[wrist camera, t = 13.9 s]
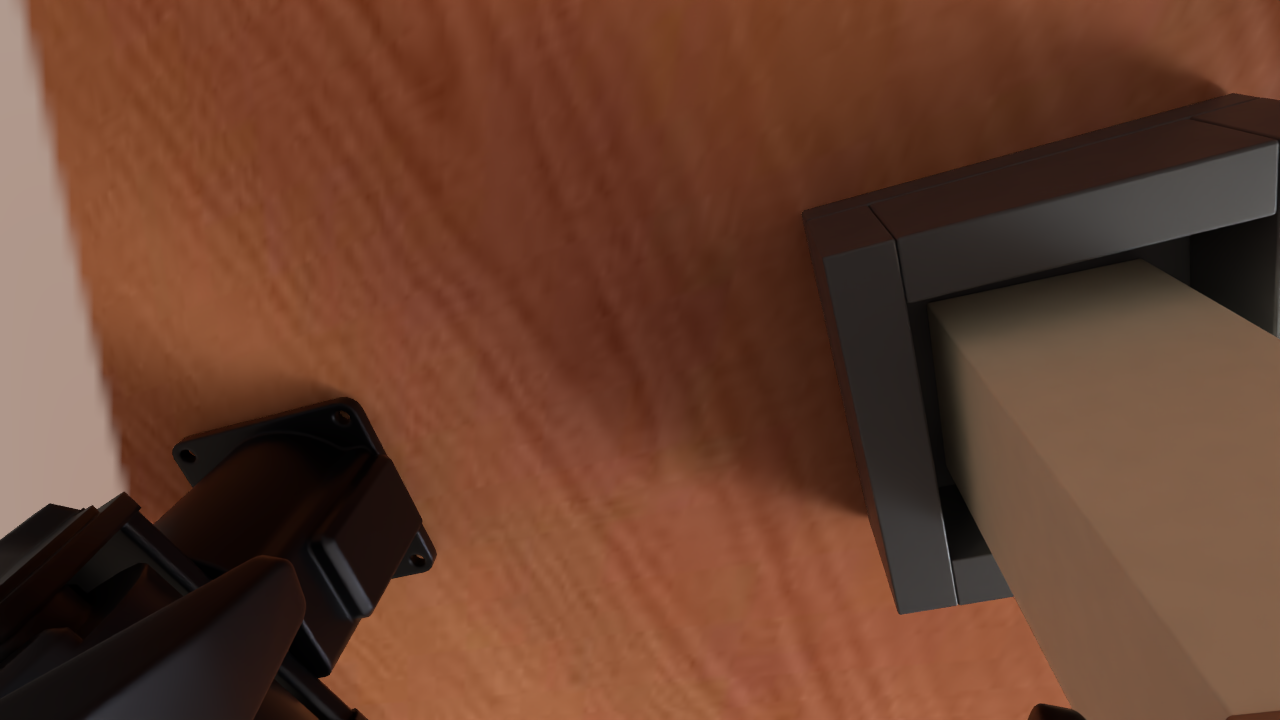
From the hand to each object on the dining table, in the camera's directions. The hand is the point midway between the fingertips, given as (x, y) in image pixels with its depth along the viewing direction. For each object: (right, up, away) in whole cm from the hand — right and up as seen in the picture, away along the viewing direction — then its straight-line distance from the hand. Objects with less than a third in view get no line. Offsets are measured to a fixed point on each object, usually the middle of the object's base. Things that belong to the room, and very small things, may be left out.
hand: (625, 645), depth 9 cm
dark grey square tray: (+11, +4, +11) cm, 16 cm away
